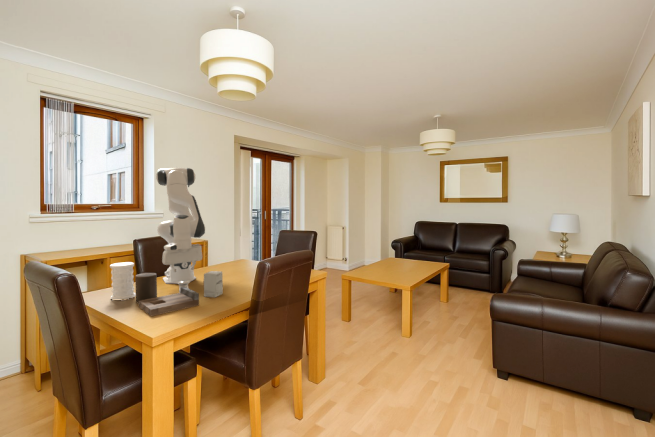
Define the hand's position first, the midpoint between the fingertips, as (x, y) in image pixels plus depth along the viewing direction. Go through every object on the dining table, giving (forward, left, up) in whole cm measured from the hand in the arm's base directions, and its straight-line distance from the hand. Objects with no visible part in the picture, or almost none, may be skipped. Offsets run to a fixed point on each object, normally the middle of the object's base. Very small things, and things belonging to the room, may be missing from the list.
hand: (183, 270), depth 179 cm
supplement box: (+10, +12, -14) cm, 21 cm away
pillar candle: (-5, -17, -14) cm, 23 cm away
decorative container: (-20, -24, -14) cm, 34 cm away
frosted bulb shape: (0, 0, -14) cm, 14 cm away
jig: (+12, -12, -14) cm, 22 cm away
